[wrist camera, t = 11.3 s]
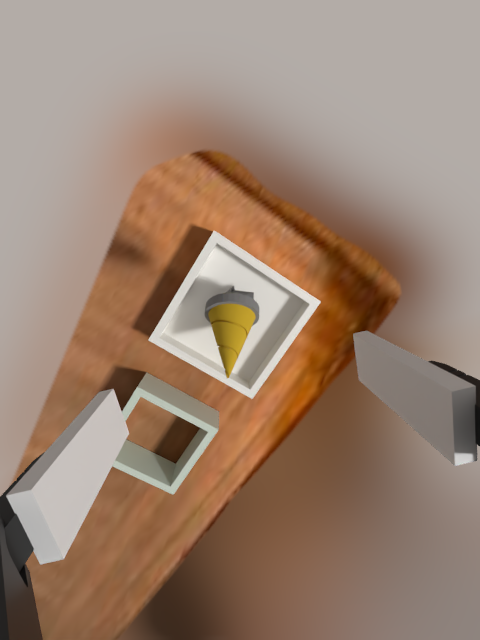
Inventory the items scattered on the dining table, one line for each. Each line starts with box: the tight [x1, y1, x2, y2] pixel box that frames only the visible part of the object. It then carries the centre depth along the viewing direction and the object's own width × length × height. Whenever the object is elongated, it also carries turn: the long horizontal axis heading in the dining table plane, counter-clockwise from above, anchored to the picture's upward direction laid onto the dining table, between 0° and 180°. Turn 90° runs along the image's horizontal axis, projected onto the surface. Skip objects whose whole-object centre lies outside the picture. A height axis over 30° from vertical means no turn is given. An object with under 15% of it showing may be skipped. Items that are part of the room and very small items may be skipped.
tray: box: [149, 231, 320, 399], centre depth 29 cm, size 13×13×2 cm
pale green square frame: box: [112, 373, 219, 494], centre depth 32 cm, size 10×10×4 cm
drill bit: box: [205, 286, 259, 378], centre depth 27 cm, size 5×5×10 cm
